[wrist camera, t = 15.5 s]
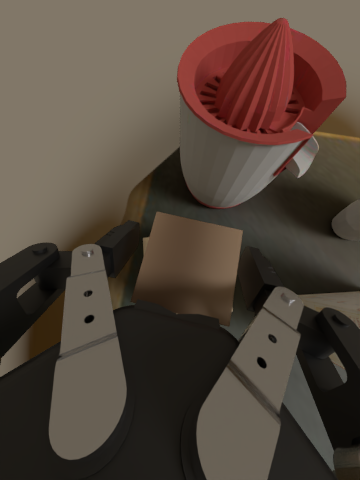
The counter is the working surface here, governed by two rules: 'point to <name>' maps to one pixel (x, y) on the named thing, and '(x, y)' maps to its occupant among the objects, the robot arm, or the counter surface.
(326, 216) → the counter surface
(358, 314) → the coffeecake box
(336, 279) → the counter surface
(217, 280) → the walnut post
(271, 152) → the citrus juicer
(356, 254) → the counter surface
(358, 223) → the soap bottle
